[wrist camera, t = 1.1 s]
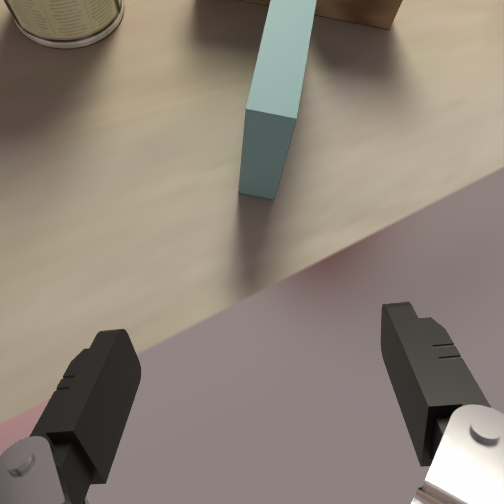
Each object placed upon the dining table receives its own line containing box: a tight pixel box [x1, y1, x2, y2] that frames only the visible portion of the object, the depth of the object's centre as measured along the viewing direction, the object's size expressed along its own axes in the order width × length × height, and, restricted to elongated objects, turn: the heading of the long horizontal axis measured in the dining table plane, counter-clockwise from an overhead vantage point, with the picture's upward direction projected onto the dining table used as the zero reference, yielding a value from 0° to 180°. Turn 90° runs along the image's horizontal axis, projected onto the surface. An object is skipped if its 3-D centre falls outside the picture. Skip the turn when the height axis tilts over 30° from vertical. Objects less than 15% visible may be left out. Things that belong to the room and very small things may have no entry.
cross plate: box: [238, 0, 316, 200], centre depth 30 cm, size 3×18×10 cm, turn 170°
